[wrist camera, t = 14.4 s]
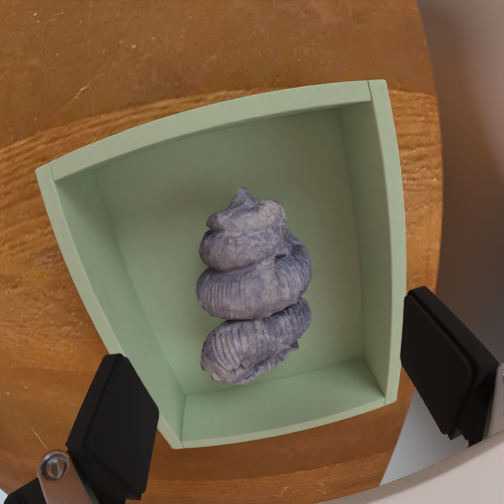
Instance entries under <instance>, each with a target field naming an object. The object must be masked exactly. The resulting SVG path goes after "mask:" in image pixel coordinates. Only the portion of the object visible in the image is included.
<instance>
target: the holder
mask: <svg viewBox="0 0 504 504" xmlns="http://www.w3.org/2000/svg"><path fill="white" fill-rule="evenodd" d="M35 173H36V177H37V181H38V184H39V188H40V191H41V195H42V198H43V201H44V204H45V208H46V211H47V214H48V217H49V220H50V223H51V226H52V228H53V231H54V234H55V237H56V240H57V242H58V245H59V248H60V250H61V253H62V255H63V258H64V260H65V263H66V265H67V268H68V270H69V272H70V275H71V277H72V279H73V282H74V284H75V286H76V288H77V291H78V293H79V295H80V297H81V299H82V301H83V304H84V306H85V308H86V310H87V312H88V314H89V316H90V318H91V320H92V322H93V324H94V326H95V328H96V330H97V332H98V334H99V335H100V337H101V339H102V341H103V343H104V345H105V347H106V348H107V350H108V352H109V354H116V353H121V354H123V356H124V357H127V358H128V359H129V360H130V362H131V364H132V365H133V367H134V369H135V371H136V372H137V374H138V376H139V377H140V379H141V381H142V382H143V384H144V386H145V387H146V389H147V390H148V392H149V394H150V395H151V397H152V398H153V400H154V402H155V403H156V405H157V406H158V409H159V420H158V425H157V428H158V430H159V431H160V432H161V434H162V435H163V437H164V438H165V439H166V441H167V442H168V443H169V444H170V446H171V447H172V448H173V449H181V448H184V447H185V448H195V447H206V446H215V445H223V444H231V443H238V442H245V441H251V440H257V439H263V438H268V437H273V436H278V435H283V434H288V433H292V432H297V431H301V430H305V429H309V428H313V427H317V426H321V425H325V424H329V423H332V422H336V421H339V420H343V419H346V418H349V417H352V416H356V415H359V414H362V413H365V412H368V411H371V410H374V409H377V408H379V407H382V406H384V405H388V404H390V403H393V402H395V401H396V399H397V392H398V385H399V377H400V369H401V361H400V349H401V338H402V324H403V306H404V297H405V296H406V232H405V213H404V199H403V187H402V177H401V168H400V160H399V152H398V145H397V138H396V132H395V126H394V120H393V114H392V109H391V104H390V99H389V94H388V89H387V84H386V81H385V80H368V81H365V80H363V81H349V82H338V83H328V84H320V85H311V86H304V87H297V88H290V89H284V90H278V91H272V92H267V93H261V94H256V95H251V96H246V97H241V98H237V99H232V100H228V101H223V102H219V103H215V104H211V105H207V106H203V107H199V108H195V109H192V110H188V111H185V112H181V113H178V114H174V115H171V116H167V117H164V118H161V119H158V120H155V121H152V122H149V123H146V124H143V125H140V126H137V127H134V128H131V129H128V130H125V131H123V132H120V133H117V134H114V135H112V136H109V137H107V138H104V139H102V140H99V141H97V142H94V143H92V144H89V145H87V146H84V147H82V148H80V149H77V150H75V151H73V152H71V153H68V154H66V155H64V156H62V157H59V158H57V159H55V160H53V161H51V162H50V163H47V164H45V165H43V166H41V167H39V168H37V169H36V170H35ZM239 187H246V188H247V189H248V191H249V193H250V194H251V195H252V196H254V197H255V198H257V199H260V200H265V199H270V200H275V201H277V202H279V203H280V204H281V205H282V207H283V208H284V210H285V211H286V221H287V225H286V229H287V230H289V231H290V232H291V233H293V234H294V235H295V237H296V238H297V239H298V240H299V241H300V242H301V243H302V244H303V245H304V246H305V247H306V249H307V250H308V252H309V255H310V257H311V260H312V263H313V273H312V277H311V281H310V283H309V284H308V286H307V289H306V291H305V292H304V293H303V295H302V296H301V297H302V298H303V299H305V300H306V301H307V302H308V304H309V307H310V311H311V324H310V327H309V328H308V329H307V331H306V332H304V333H303V335H302V336H301V338H300V339H298V340H297V341H298V346H299V349H298V350H296V351H294V352H292V353H291V354H290V355H289V356H288V357H287V358H286V359H285V360H284V361H283V362H282V363H280V364H279V365H277V367H273V368H272V369H271V370H270V371H268V372H265V373H262V374H261V375H257V377H256V379H254V380H252V381H250V382H247V383H246V384H244V385H242V384H239V385H236V384H232V385H231V384H225V383H223V382H221V381H214V380H212V379H211V376H210V374H209V373H208V372H207V371H204V370H202V368H201V365H200V364H201V352H202V347H203V343H204V342H205V340H206V336H207V335H208V334H209V333H210V332H211V331H212V330H213V329H215V327H218V326H220V325H221V323H223V322H224V321H226V319H221V318H218V317H214V316H211V315H210V314H209V313H208V312H207V311H206V310H204V309H203V308H202V306H201V305H199V304H198V303H197V301H196V300H197V298H196V293H195V290H196V284H197V281H198V278H199V277H200V275H201V274H202V273H203V272H204V271H205V270H206V269H207V268H208V266H207V265H206V264H204V263H203V262H202V260H201V257H200V255H199V247H200V243H201V241H202V238H203V236H204V234H205V232H207V231H208V230H210V229H209V228H208V227H207V225H206V223H207V220H208V217H210V216H211V215H212V214H214V213H217V212H220V211H222V210H225V209H227V208H228V206H229V204H230V202H231V200H232V198H234V197H235V196H236V194H237V193H238V190H239Z"/></svg>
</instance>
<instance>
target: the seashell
mask: <svg viewBox="0 0 504 504" xmlns="http://www.w3.org/2000/svg"><path fill="white" fill-rule="evenodd" d="M206 225H207V227H208V228H209V229H210V230H208V231H207V232H205V234H204V236H203V238H202V241H201V243H200V247H199V255H200V257H201V260H202V262H203V263H204V264H206V265H207V266H208V268H207V269H206V270H205V271H204V272H203V273H202V274H201V275H200V277H199V278H198V281H197V284H196V290H195V293H196V298H197V300H196V301H197V303H198V304H199V305H201V306H202V308H203V309H204V310H206V311H207V312H208V313H209V314H210V315H211V316H214V317H218V318H221V319H226V321H224V322H223V323H221V325H220V326H218V327H215V329H213V330H212V331H211V332H210V333H209V334H208V335H207V336H206V340H205V342H204V343H203V347H202V352H201V364H200V365H201V368H202V370H204V371H207V372H208V373H209V374H210V376H211V379H212V380H214V381H221V382H223V383H225V384H231V385H232V384H236V385H239V384H242V385H244V384H246V383H247V382H250V381H252V380H254V379H256V377H257V375H261V374H262V373H265V372H268V371H270V370H271V369H272V368H273V367H277V365H279V364H280V363H282V362H283V361H284V360H285V359H286V358H287V357H288V356H289V355H290V354H291V353H292V352H294V351H296V350H298V349H299V346H298V341H297V340H298V339H300V338H301V336H302V335H303V333H304V332H306V331H307V329H308V328H309V327H310V324H311V311H310V307H309V304H308V302H307V301H306V300H305V299H303V298H302V297H301V296H302V295H303V293H304V292H305V291H306V289H307V286H308V284H309V283H310V281H311V277H312V273H313V263H312V260H311V257H310V255H309V252H308V250H307V249H306V247H305V246H304V245H303V244H302V243H301V242H300V241H299V240H298V239H297V238H296V237H295V235H294V234H293V233H291V232H290V231H289V230H287V229H286V225H287V221H286V211H285V210H284V208H283V207H282V205H281V204H280V203H279V202H277V201H275V200H270V199H265V200H260V199H257V198H255V197H254V196H252V195H251V194H250V193H249V191H248V189H247V188H246V187H239V190H238V193H237V194H236V196H235V197H234V198H232V200H231V202H230V204H229V206H228V208H227V209H225V210H222V211H220V212H217V213H214V214H212V215H211V216H210V217H208V220H207V223H206Z"/></svg>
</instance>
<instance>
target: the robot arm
mask: <svg viewBox="0 0 504 504" xmlns="http://www.w3.org/2000/svg"><path fill="white" fill-rule="evenodd" d="M400 361H401V364H402V366H403V368H404V369H405V371H406V372H407V374H408V376H409V377H410V379H411V381H412V382H413V384H414V386H415V387H416V389H417V391H418V392H419V394H420V396H421V398H422V399H423V401H424V403H425V404H426V406H427V408H428V410H429V411H430V413H431V415H432V417H433V418H434V420H435V422H436V424H437V425H438V427H439V429H440V431H441V432H442V433H443V434H448V437H449V438H450V440H452V439H454V438H456V437H458V436H460V435H463V436H464V438H465V440H466V443H465V447H464V450H463V451H461V452H459V453H457V454H455V455H453V456H451V457H449V458H447V459H445V460H443V461H441V462H439V463H436V464H434V465H432V466H429V467H427V468H425V469H422V470H420V471H418V472H415V473H413V474H411V475H408V476H406V477H403V478H401V479H398V480H395V481H393V482H390V483H387V484H384V485H382V486H378V487H375V488H372V489H369V490H366V491H363V492H359V493H356V494H352V495H349V496H345V497H341V498H338V499H334V500H330V501H325V502H321V503H316V504H504V361H503V362H502V363H501V364H499V363H498V362H497V360H496V359H495V358H494V356H493V355H492V354H491V353H490V352H489V351H488V350H487V349H486V348H485V346H484V345H483V344H482V343H481V342H480V341H479V340H478V339H477V338H476V337H475V336H474V334H472V332H470V330H469V329H468V328H467V327H466V326H465V325H464V324H463V323H462V322H461V321H460V320H459V319H458V318H457V317H456V316H455V315H454V314H453V313H452V312H451V311H450V310H449V309H448V308H447V307H446V306H445V305H444V304H443V303H442V302H441V301H440V300H439V299H438V298H437V297H436V296H435V295H434V294H433V293H432V292H431V291H430V290H429V289H428V288H427V287H425V286H422V287H419V288H416V289H413V290H410V291H409V292H408V295H407V296H405V297H404V306H403V324H402V338H401V349H400ZM158 420H159V409H158V406H157V405H156V403H155V402H154V400H153V398H152V397H151V395H150V394H149V392H148V390H147V389H146V387H145V386H144V384H143V382H142V381H141V379H140V377H139V376H138V374H137V372H136V371H135V369H134V367H133V365H132V364H131V362H130V360H129V359H128V358H127V357H124V356H123V354H121V353H116V354H108V355H105V356H104V358H103V360H102V362H101V364H100V366H99V368H98V370H97V372H96V375H95V377H94V379H93V381H92V383H91V385H90V388H89V390H88V392H87V394H86V397H85V399H84V401H83V404H82V406H81V408H80V410H79V413H78V415H77V418H76V420H75V422H74V425H73V427H72V430H71V432H70V435H69V437H68V440H67V442H66V446H67V447H68V450H67V452H65V451H64V450H60V449H56V450H52V451H49V452H48V453H46V454H45V455H44V456H43V457H42V458H41V459H40V461H39V463H38V467H37V475H38V477H37V478H36V479H34V480H32V481H31V482H29V483H28V484H26V485H24V486H23V487H21V488H19V489H18V490H16V491H14V492H12V493H11V494H10V495H8V496H7V498H6V499H5V501H4V504H125V501H126V499H130V500H141V494H142V493H144V492H145V490H146V486H147V480H148V474H149V468H150V462H151V457H152V451H153V446H154V441H155V435H156V430H157V425H158Z"/></svg>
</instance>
